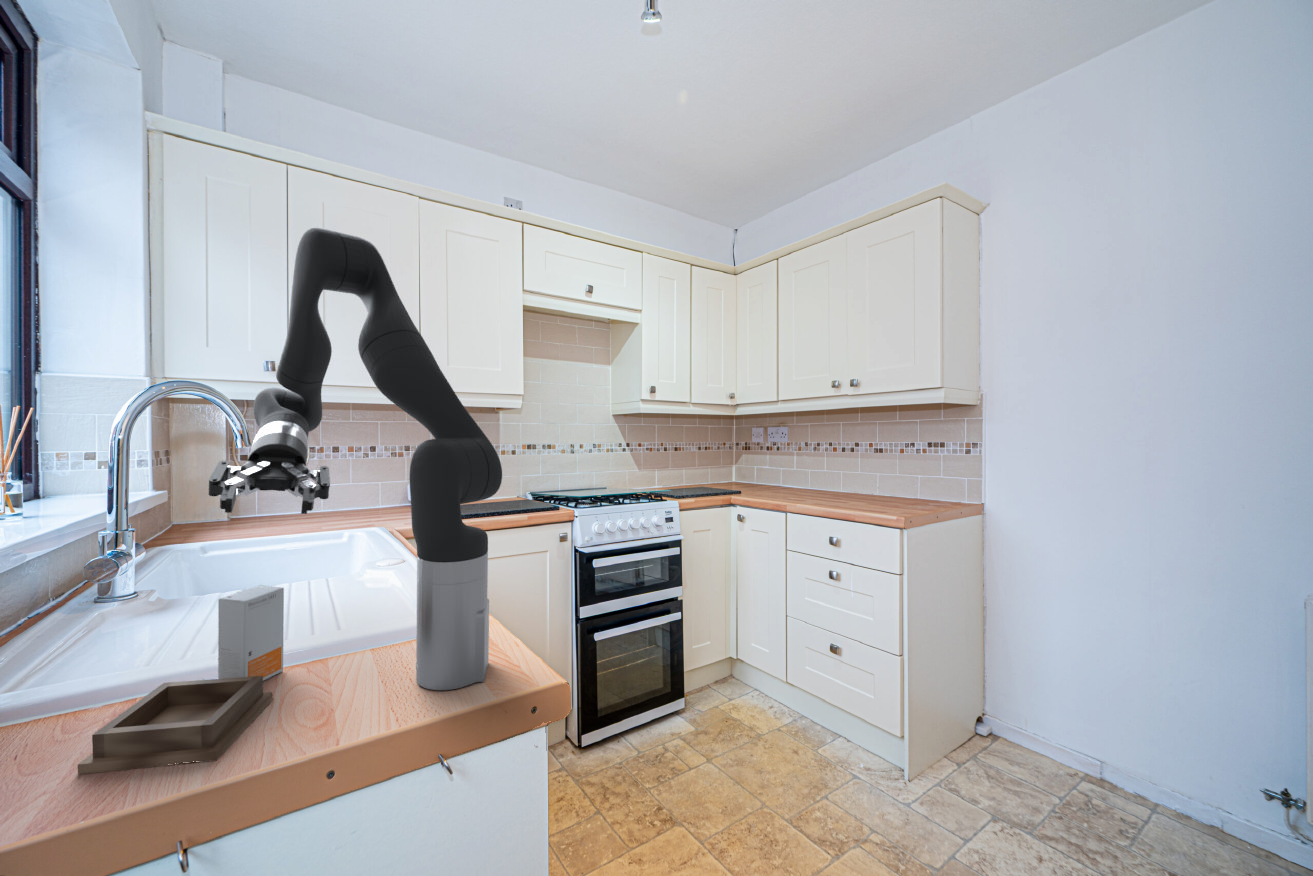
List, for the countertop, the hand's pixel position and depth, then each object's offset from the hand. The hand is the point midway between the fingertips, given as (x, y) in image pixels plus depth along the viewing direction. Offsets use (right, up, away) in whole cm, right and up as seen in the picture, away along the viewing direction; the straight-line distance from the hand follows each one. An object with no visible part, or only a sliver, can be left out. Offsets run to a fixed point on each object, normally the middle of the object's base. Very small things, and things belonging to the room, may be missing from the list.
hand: (267, 508), depth 73 cm
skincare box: (-1, -23, -1) cm, 23 cm away
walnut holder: (0, -24, -13) cm, 27 cm away
